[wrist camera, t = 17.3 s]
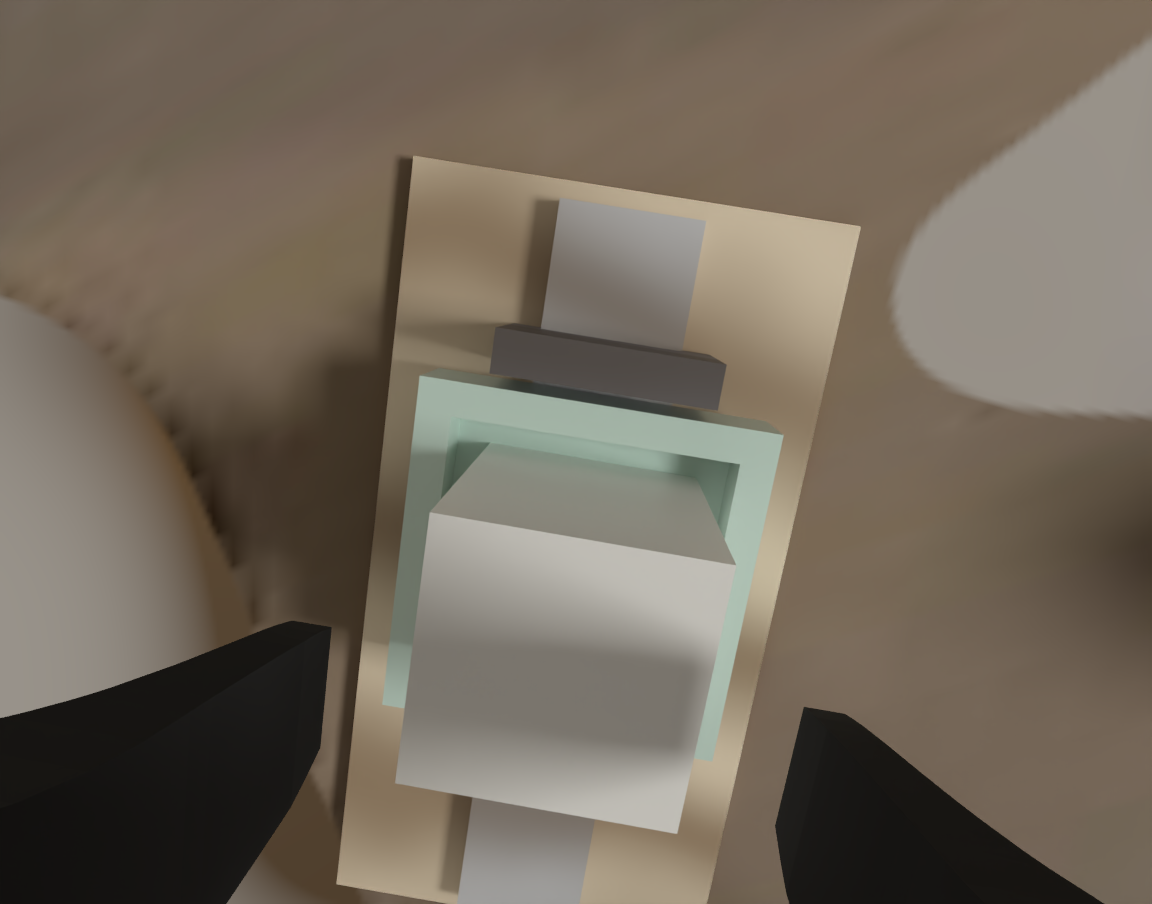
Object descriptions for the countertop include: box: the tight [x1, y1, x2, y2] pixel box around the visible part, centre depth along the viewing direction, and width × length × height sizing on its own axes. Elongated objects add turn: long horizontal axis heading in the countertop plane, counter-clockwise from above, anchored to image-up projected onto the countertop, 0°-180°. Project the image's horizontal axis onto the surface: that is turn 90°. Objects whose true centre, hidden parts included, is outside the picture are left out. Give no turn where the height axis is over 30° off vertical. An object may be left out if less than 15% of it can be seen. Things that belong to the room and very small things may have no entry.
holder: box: [382, 368, 784, 761], centre depth 18 cm, size 8×8×2 cm
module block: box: [395, 443, 736, 834], centre depth 15 cm, size 5×5×6 cm
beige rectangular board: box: [337, 156, 861, 904], centre depth 19 cm, size 21×11×3 cm, turn 171°
